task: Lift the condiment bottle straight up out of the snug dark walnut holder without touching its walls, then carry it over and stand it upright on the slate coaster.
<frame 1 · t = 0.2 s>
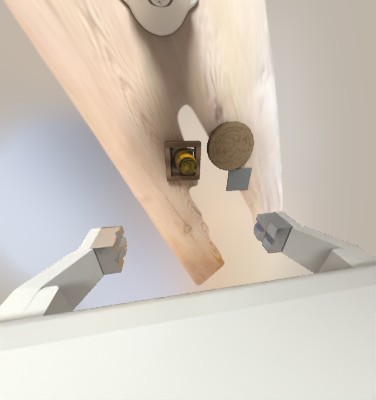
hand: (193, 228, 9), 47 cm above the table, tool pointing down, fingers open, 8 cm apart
coaster: (238, 179, 62), on the table
round cork trivet: (228, 146, 55), on the table
condiment: (181, 159, 55), resting in holder
holder: (182, 159, 55), on the table
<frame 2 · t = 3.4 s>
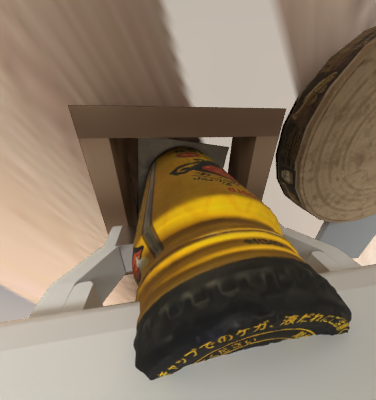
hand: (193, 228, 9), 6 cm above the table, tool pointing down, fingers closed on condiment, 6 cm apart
coaster: (343, 235, 21), on the table
round cork trivet: (351, 137, 15), on the table
condiment: (179, 188, 14), resting in holder, touching gripper
holder: (181, 188, 14), on the table
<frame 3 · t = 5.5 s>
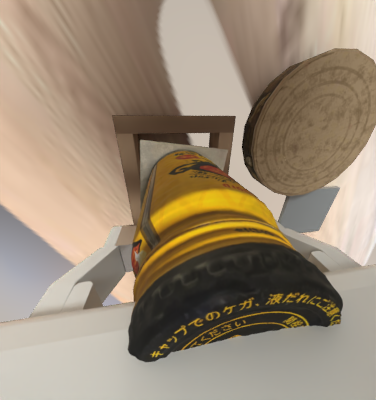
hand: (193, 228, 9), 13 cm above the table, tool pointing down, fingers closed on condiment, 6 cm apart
coaster: (303, 211, 28), on the table
round cork trivet: (295, 134, 21), on the table
condiment: (180, 190, 15), point 7 cm above the table, touching gripper
holder: (176, 170, 20), on the table
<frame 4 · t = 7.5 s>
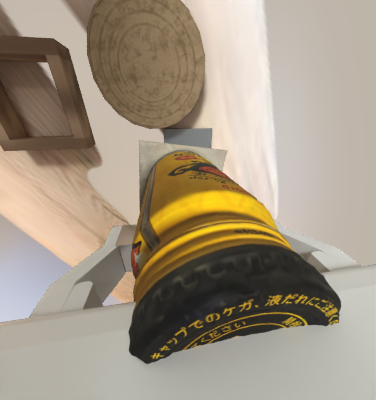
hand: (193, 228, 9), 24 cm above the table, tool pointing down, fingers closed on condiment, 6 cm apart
coaster: (187, 153, 31), on the table
round cork trivet: (151, 72, 24), on the table
condiment: (179, 191, 15), point 18 cm above the table, touching gripper
holder: (43, 102, 24), on the table
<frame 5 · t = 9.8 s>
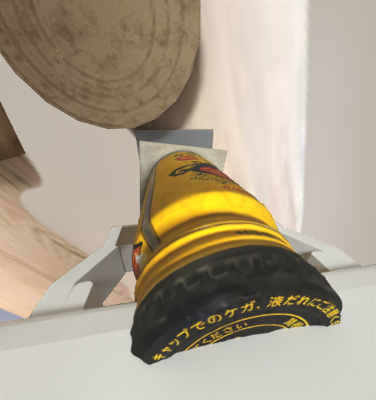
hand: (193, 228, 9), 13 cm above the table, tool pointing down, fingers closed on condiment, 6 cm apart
coaster: (176, 166, 20), on the table
round cork trivet: (108, 31, 14), on the table
condiment: (180, 191, 15), point 7 cm above the table, touching gripper
when the fingers open (8 cm above the table, at t = 11.4 s): condiment drops 1 cm, resting on coaster.
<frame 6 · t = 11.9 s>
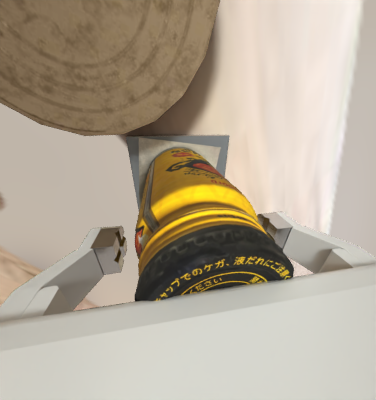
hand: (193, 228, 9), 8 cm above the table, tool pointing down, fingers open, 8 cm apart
coaster: (180, 182, 16), on the table
condiment: (176, 185, 16), resting on coaster
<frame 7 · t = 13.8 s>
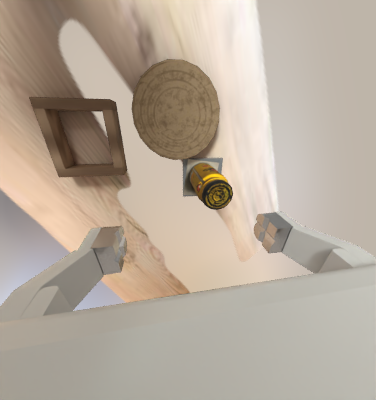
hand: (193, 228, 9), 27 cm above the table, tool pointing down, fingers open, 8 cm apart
coaster: (201, 177, 37), on the table
round cork trivet: (176, 116, 31), on the table
condiment: (200, 178, 36), resting on coaster
holder: (90, 139, 30), on the table
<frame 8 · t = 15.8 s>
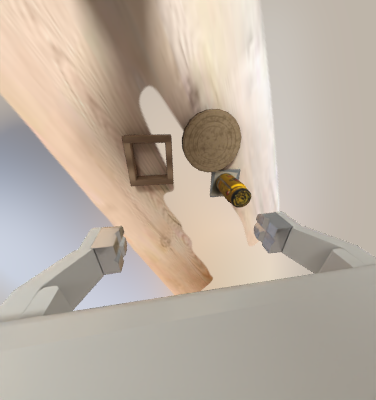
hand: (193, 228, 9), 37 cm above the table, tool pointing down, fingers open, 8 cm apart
coaster: (224, 182, 50), on the table
round cork trivet: (209, 141, 44), on the table
condiment: (223, 184, 50), resting on coaster
holder: (150, 159, 43), on the table
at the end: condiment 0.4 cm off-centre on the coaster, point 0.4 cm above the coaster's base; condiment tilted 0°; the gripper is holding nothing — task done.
